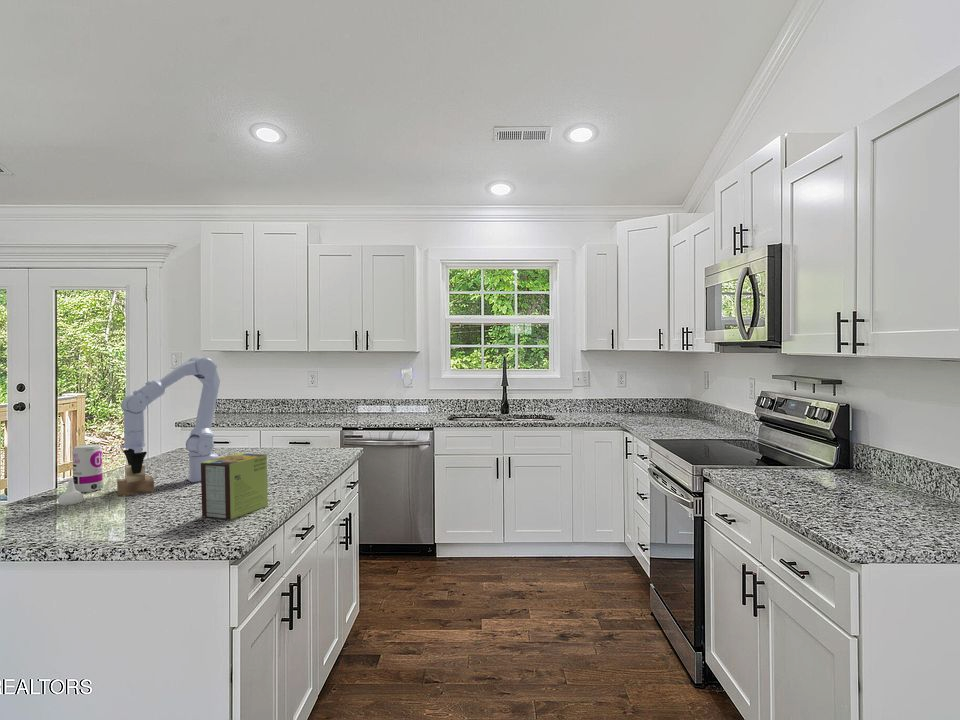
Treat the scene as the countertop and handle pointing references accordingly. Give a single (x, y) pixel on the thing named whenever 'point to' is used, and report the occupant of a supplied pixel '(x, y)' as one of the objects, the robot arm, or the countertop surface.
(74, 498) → the garlic bulb
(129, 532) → the countertop surface
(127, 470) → the maple cube
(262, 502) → the protein box
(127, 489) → the walnut block
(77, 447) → the supplement can
